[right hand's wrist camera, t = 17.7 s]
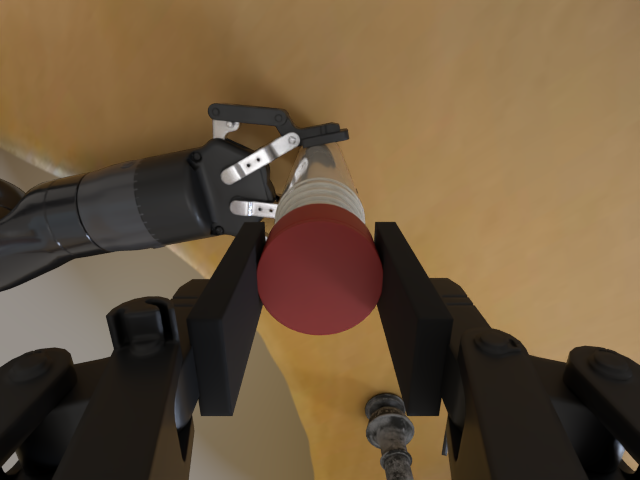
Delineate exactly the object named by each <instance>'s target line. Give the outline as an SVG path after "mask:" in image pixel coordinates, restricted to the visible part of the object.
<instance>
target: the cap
mask: <svg viewBox="0 0 640 480" xmlns="http://www.w3.org/2000/svg"><path fill="white" fill-rule="evenodd" d="M382 282H383V267H382V263H381V260H380V257H379V254H378V252H377V249H376V246H375V244H374V241H373V238H372V236H371V234H370V232H369V230H368V228H367V227H366V225H365V224H364V223H363V222H362V221H361V220H360V219H359V218H358V217H357V216H356V215H354V214H353V213H351V212H350V211H348V210H346V209H344V208H342V207H339V206H335V205H331V204H322V203H318V204H309V205H304V206H301V207H298V208H296V209H294V210H292V211H290V212H288V213H287V214H286V215H284V216H283V217H282V218H281V219H280V220H278V222H277V223H276V224H275V225H274V227H273V228H272V230H271V231H270V233H269V236H268V238H267V240H266V243H265V246H264V249H263V251H262V254H261V257H260V259H259V262H258V266H257V286H258V293H259V296H260V299H261V301H262V303H263V305H264V306H265V308H266V309H267V311H268V312H269V313H270V314H271V315H272V316H273V317H274V318H275V319H276V320H277V321H278V322H280V323H281V324H283V325H284V326H286V327H288V328H290V329H292V330H295V331H297V332H301V333H305V334H310V335H330V334H335V333H339V332H342V331H345V330H348V329H350V328H352V327H354V326H355V325H357V324H359V323H360V322H361V321H363V320H364V319H365V318H366V317H367V316H368V315H369V314H370V313H371V312H372V310H373V309H374V308H375V306H376V304H377V303H378V301H379V298H380V296H381V293H382Z"/></svg>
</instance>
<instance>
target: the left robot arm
mask: <svg viewBox="0 0 640 480" xmlns="http://www.w3.org/2000/svg"><path fill="white" fill-rule="evenodd" d="M208 114H209V116H210V117H211V118H212V119H213V139H211V140H209V141H208V142H207V143H206V144H205V145H204V146H202V147H199V148H194V149H189V150H184V151H179V152H174V153H169V154H164V155H159V156H154V157H149V158H144V159H139V160H132V161H127V162H123V163H119V164H115V165H111V166H108V167H106V168H103V169H100V170H97V171H94V172H89V173H84V174H79V175H74V176H69V177H64V178H59V179H54V180H50V181H46V182H43V183H41V184H38V185H36V186H35V187H33V188H32V189H30V190H29V191H28V192H27V193H25V192H24V191H22V190H21V189H20V188H18V187H16V186H15V185H13V184H11V183H9V182H7V181H5V180H2V179H0V292H1V291H5V290H8V289H11V288H13V287H16V286H18V285H21V284H23V283H25V282H27V281H29V280H31V279H34V278H36V277H38V276H40V275H42V274H44V273H46V272H49V271H51V270H53V269H55V268H57V267H59V266H61V265H63V264H65V263H67V262H68V261H70V260H73V259H75V258H81V257H88V256H93V255H99V254H104V253H110V252H115V251H128V250H141V249H148V248H160V247H164V246H166V245H170V244H176V243H181V242H186V241H192V240H198V239H203V238H209V237H214V236H219V235H225V234H226V235H232V236H235V237H236V235H237V234H238V232H239V230H240V229H241V227H242V225H243V224H244V222H260V221H261V220H262V219H263V218H264V217H268V218H275V213H276V209H277V206H278V203H279V201H280V198H281V196H282V194H276V193H275V188H274V186H273V184H272V182H271V180H270V167H269V163H270V162H272V161H273V160H275V159H276V158H278V157H279V156H281V155H283V154H285V153H287V152H288V151H290V150H292V149H294V148H295V147H298V146H303V148H308V147H312V146H318V145H323V144H328V143H333V142H339V141H344V140H348V139H349V135H348V130H347V129H340V127H339V124H337V123H333V122H331V123H326V124H321V125H316V126H311V127H306V128H299V127H297V126H295V124H294V123H293V121H292V120H291V118H290V116H289V114H288V112H287V111H286V110H285V109H279V108H269V107H259V106H249V105H238V104H228V103H214V104H211V105H210V106H209V108H208ZM241 123H249V124H260V125H270V126H276V128H277V129H278V131H279V133H280V134H281V136H280V137H278V138H277V139H275V140H273V141H271V142H269V143H268V144H266V145H264V146H262V147H261V148H259V149H257V150H255V151H254V150H251V149H249V148H247V147H245V146H243V145H241V144H239V143H236V142H234V141H232V140H230V139H228V138H227V135H228V133H229V132H233V131H236V130H238V129H239V128H240V127H241ZM356 191H357V189H356ZM357 193H358V192H357ZM275 200H276V201H275ZM271 209H272V210H271ZM268 236H269V234H268V233H267V232H265V241H266V240H267V238H268Z"/></svg>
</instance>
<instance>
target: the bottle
mask: <svg viewBox="0 0 640 480" xmlns="http://www.w3.org/2000/svg"><path fill="white" fill-rule="evenodd" d="M318 203H322V204H331V205H335V206H339V207H342V208H344V209H346V210H348V211H350V212H351V213H353V214H354V215H356V216H357V217H358V218H359V219H360V220H361V221H362V222H363V223H364V224H365V214H364V209H363V206H362V203H361V201H360V198H359V196H358V193H357V191H356V188H355V186H354V183H353V180H352V178H351V175H350V173H349V170H348V168H347V165H346V163H345V160H344V157H343V155H342V152H341V150H340V148H339V146H338V145H337V144H336V142H333V143H328V144H323V145H318V146H312V147H308V148H303V146H301V148H300V150H299V152H298V155H297V157H296V160H295V162H294V165H293V167H292V170H291V173H290V175H289V178H288V180H287V183H286V185H285V188H284V190H283V193H282V196H281V198H280V201H279V203H278V206H277V209H276V213H275V224H276V223H277V222H278V220H280V219H281V218H282V217H283V216H284V215H286V214H287V213H288V212H290V211H292V210H294V209H296V208H298V207H301V206H304V205H309V204H318Z"/></svg>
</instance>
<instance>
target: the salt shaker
mask: <svg viewBox="0 0 640 480" xmlns="http://www.w3.org/2000/svg"><path fill="white" fill-rule="evenodd" d="M405 411H406V409H405V406H404V402H403V400H402V399H401V398H400V397H398V396H396V395H393V394H380V395H377V396H375V397H373V398H372V399H370V400H369V401H368V403H367V404H366V408H365V413H366V416H367V418H368V419H369V423H368V426H367V429H366V437H367V439H368V441H369V442H370V443H371V444H372V445H373V446H375V447H377V448H379V449H381V453H382V457H381V460H380V464H381V466H382V468H383V469H384V470H385V473H386V478H387V480H414V479H413V475H412V471H411V467H410V466H411V464H412V457H411V455H410V454H409V453H408V452H407V448H406V444H408V443H409V442H410V440H411V439H412V438H413V435H414V426H413V424H412V422H411V421H410V420H409V419H408V417H407V416H406V415H405Z"/></svg>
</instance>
